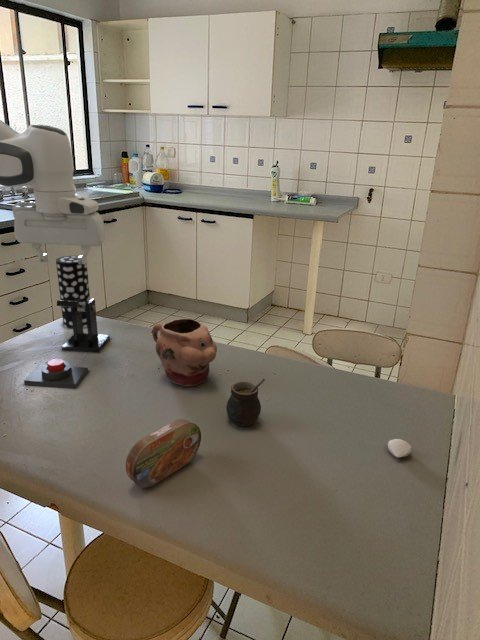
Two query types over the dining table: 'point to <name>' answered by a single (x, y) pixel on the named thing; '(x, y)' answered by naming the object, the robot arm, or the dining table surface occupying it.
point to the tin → (163, 452)
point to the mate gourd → (244, 403)
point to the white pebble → (399, 448)
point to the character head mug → (184, 350)
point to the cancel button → (55, 365)
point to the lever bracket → (79, 338)
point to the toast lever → (73, 305)
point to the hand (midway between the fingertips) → (63, 262)
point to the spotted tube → (72, 285)
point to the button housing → (57, 376)
